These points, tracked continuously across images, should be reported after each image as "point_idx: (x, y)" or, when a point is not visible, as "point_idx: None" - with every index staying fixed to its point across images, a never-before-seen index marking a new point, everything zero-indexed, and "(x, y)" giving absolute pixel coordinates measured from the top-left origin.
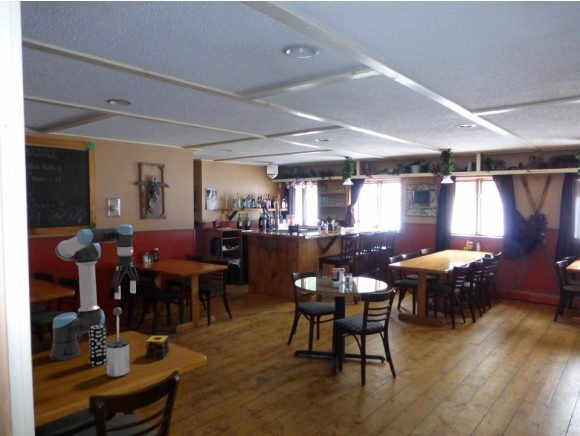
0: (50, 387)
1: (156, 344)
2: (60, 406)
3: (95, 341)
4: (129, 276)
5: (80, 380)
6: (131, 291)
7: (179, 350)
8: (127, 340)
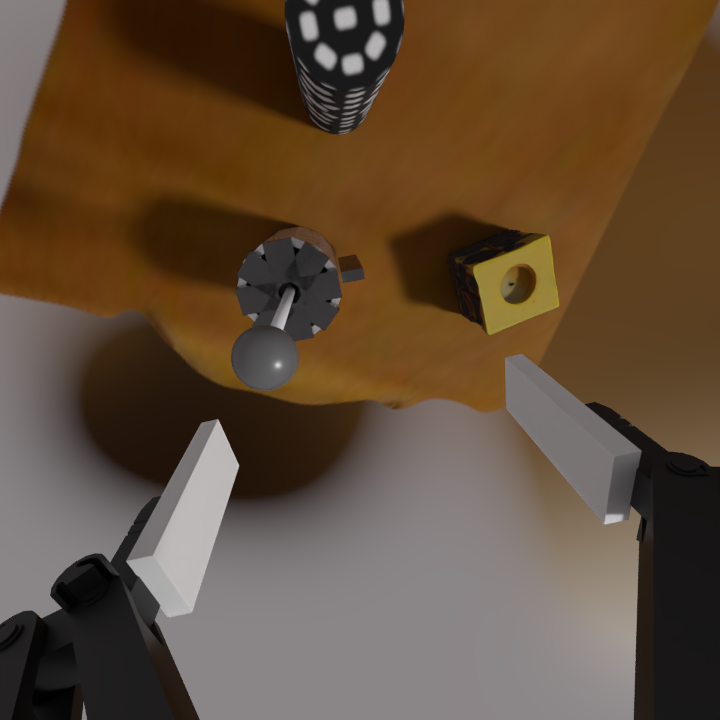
0: (78, 116)
1: (479, 304)
2: (42, 289)
3: (302, 84)
4: (653, 557)
5: (188, 178)
6: (513, 381)
7: (548, 311)
8: (333, 310)
